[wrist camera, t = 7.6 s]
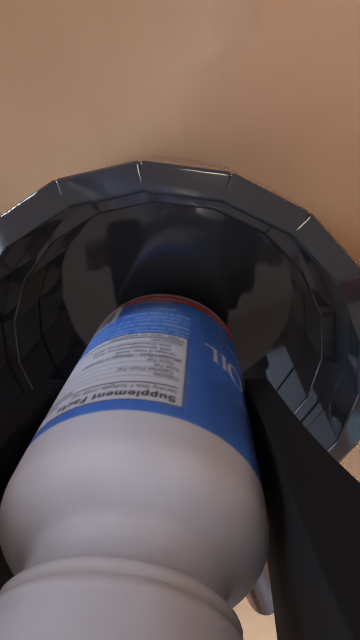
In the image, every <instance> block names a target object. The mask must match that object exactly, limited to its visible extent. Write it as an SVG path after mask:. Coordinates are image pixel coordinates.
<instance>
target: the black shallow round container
mask: <svg viewBox="0 0 360 640" xmlns="http://www.w3.org/2000/svg"><path fill="white" fill-rule="evenodd" d="M152 294H170V295H177V296H182V297H186V298H189V299H191V300H194V301H196V302H198V303H200V304H202V305H204V306H205V307H207V308H208V309H210V310H211V311H213V312H214V313H215V314H216V315H217V316H218V317H219V318H220V319H221V320H222V321H223V323H224V324H225V325H226V326H227V328H228V330H229V331H230V333H231V335H232V338H233V340H234V343H235V346H236V349H237V354H238V359H239V364H240V370H241V375H242V380H243V386H244V391H245V379H265V378H266V379H268V380H269V381H270V383H271V384H272V385H273V387H274V388H275V390H276V391H277V392H278V394H279V395H280V396H281V398H282V399H283V400H284V402H285V403H286V404H287V405H288V407H289V408H290V409H291V411H292V412H293V413H294V414H295V415H296V417H297V418H298V419H299V420H300V421H301V423H302V424H303V425H304V426H305V427H306V428H307V430H308V431H309V432H310V433H311V434H312V435H313V436H314V437H315V439H316V440H317V441H318V442H319V443H320V444H321V445H322V446H323V447H324V448H325V449H326V450H327V451H328V452H329V453H330V454H331V456H332V457H333V458H334V459H335V460H336V461H337V462H338V463H339V462H340V461H341V460H342V459H343V458H344V457H345V456H346V455H347V454H348V453H349V452H350V451H351V450H352V449H353V448H354V447H355V446H356V445H357V444H358V442H359V440H360V267H359V265H358V264H357V263H356V262H355V261H354V260H353V259H352V258H351V257H350V255H349V254H348V253H347V252H346V251H345V250H344V249H343V248H342V246H341V245H340V244H339V243H338V242H337V241H336V240H335V239H334V238H333V236H332V235H331V234H330V233H329V232H328V231H327V230H326V229H325V227H324V226H323V225H322V224H321V223H320V222H319V221H318V220H317V219H316V217H315V216H314V215H313V214H311V213H310V212H308V210H306V209H304V208H303V207H301V206H299V205H297V204H296V203H294V202H292V201H290V200H288V199H287V198H285V197H283V196H281V195H280V194H278V193H276V192H274V191H272V190H270V189H269V188H267V187H265V186H263V185H261V184H259V183H257V182H255V181H253V180H251V179H249V178H247V177H245V176H243V175H241V174H239V173H237V172H235V171H233V170H232V169H230V168H228V167H226V166H222V165H220V164H213V163H206V162H198V161H190V160H182V159H174V158H166V157H153V158H148V159H143V160H137V161H133V162H128V163H124V164H120V165H115V166H111V167H106V168H102V169H98V170H93V171H89V172H84V173H80V174H76V175H71V176H67V177H63V178H58V179H57V180H53V181H51V182H49V183H48V184H46V185H45V186H44V187H42V188H41V189H39V190H38V191H36V192H35V193H33V194H32V195H30V196H29V197H28V198H26V199H25V200H23V201H22V202H20V203H19V204H17V205H16V206H14V207H13V208H11V209H10V210H9V211H7V212H6V213H4V214H3V215H1V216H0V414H2V413H3V412H4V411H6V410H7V409H8V408H10V407H11V406H12V405H14V404H15V403H16V402H17V401H19V400H20V399H21V398H23V397H24V396H25V395H27V394H28V393H29V392H31V391H32V390H33V389H34V388H36V387H37V386H39V385H40V384H41V383H43V382H44V381H46V380H47V379H68V378H69V376H70V374H71V373H72V371H73V370H74V368H75V366H76V365H77V363H78V361H79V360H80V358H81V356H82V355H83V353H84V351H85V350H86V348H87V346H88V344H89V343H90V341H91V339H92V338H93V336H94V334H95V333H96V331H97V330H98V328H99V327H100V325H101V324H102V322H103V321H104V320H105V319H106V318H107V317H108V316H109V315H110V314H111V313H112V312H113V311H114V310H115V309H116V308H118V307H119V306H121V305H122V304H124V303H126V302H128V301H130V300H132V299H135V298H138V297H141V296H146V295H152Z"/></svg>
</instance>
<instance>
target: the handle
mask: <svg viewBox="0 0 360 640" xmlns="http://www.w3.org/2000/svg"><path fill="white" fill-rule="evenodd" d="M246 597H247V599H248V601H249V603H250V605H251V607H252V608H253V609H254V610H255V611H256V612H257V613H259V614H261V615H271V614H273V613H274V608H273V601H272V593H271V586H270V578H269V571H268V563H267V560H266V564H265V566H264V569H263V572H262V574H261V576H260V577H259V579H258V581H257V583H256V584H255V586H254V587H253V588H252V589H251V591H250V592H249V593H248V594H247V595H246Z"/></svg>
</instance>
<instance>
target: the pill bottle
mask: <svg viewBox="0 0 360 640" xmlns="http://www.w3.org/2000/svg"><path fill="white" fill-rule="evenodd" d="M0 546H1V549H2V553H3V555H4V558H5V560H6V562H7V564H8V566H9V568H10V569H11V571H12V573H13V575H14V577H13V578H11V579H10V580H9V581H8V582H6V583H5V584H4V585H3V587H2V588H1V590H0V640H243V630H242V627H241V624H240V621H239V619H238V617H237V615H236V613H235V611H234V610H233V609H232V608H234V607H235V606H236V605H237V604H238V603H239V602H241V601H242V600H243V599H244V597H245V596H246V595H247V594H248V593H249V592H250V591H251V589H252V588H253V587H254V586H255V584H256V583H257V581H258V579H259V577H260V576H261V574H262V572H263V569H264V566H265V564H266V560H267V556H268V550H269V522H268V516H267V509H266V502H265V496H264V490H263V485H262V479H261V474H260V468H259V463H258V459H257V453H256V448H255V443H254V436H253V432H252V427H251V421H250V417H249V412H248V407H247V402H246V397H245V391H244V386H243V380H242V375H241V370H240V364H239V359H238V354H237V349H236V346H235V343H234V340H233V338H232V335H231V333H230V331H229V330H228V328H227V326H226V325H225V324H224V323H223V321H222V320H221V319H220V318H219V317H218V316H217V315H216V314H215V313H214V312H213V311H211V310H210V309H208V308H207V307H205V306H204V305H202V304H200V303H198V302H196V301H194V300H191V299H189V298H186V297H182V296H177V295H170V294H152V295H146V296H141V297H138V298H135V299H132V300H130V301H128V302H126V303H124V304H122V305H121V306H119V307H118V308H116V309H115V310H114V311H113V312H112V313H111V314H110V315H109V316H108V317H107V318H106V319H105V320H104V321H103V322H102V324H101V325H100V327H99V328H98V330H97V331H96V333H95V334H94V336H93V338H92V339H91V341H90V343H89V344H88V346H87V348H86V350H85V351H84V353H83V355H82V356H81V358H80V360H79V361H78V363H77V365H76V366H75V368H74V370H73V371H72V373H71V374H70V376H69V378H68V379H67V381H66V383H65V385H64V386H63V388H62V390H61V391H60V393H59V395H58V396H57V398H56V400H55V402H54V404H53V405H52V407H51V409H50V410H49V412H48V414H47V416H46V417H45V419H44V421H43V422H42V424H41V426H40V427H39V429H38V431H37V432H36V434H35V436H34V438H33V439H32V441H31V443H30V444H29V446H28V448H27V450H26V452H25V453H24V455H23V457H22V459H21V461H20V462H19V464H18V466H17V468H16V470H15V471H14V473H13V475H12V477H11V479H10V480H9V483H8V485H7V487H6V489H5V492H4V495H3V498H2V501H1V506H0Z"/></svg>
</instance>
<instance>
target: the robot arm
mask: <svg viewBox="0 0 360 640" xmlns="http://www.w3.org/2000/svg"><path fill="white" fill-rule="evenodd" d="M66 381H67V379H47V380H46V381H44V382H43V383H41V384H40V385H39V386H37V387H36V388H34V389H33V390H32V391H31V392H29V393H28V394H27V395H25V396H24V397H23V398H21V399H20V400H19V401H17V402H16V403H15V404H14V405H12V406H11V407H10V408H8V409H7V410H6V411H4V412H3V413H2V414H0V506H1V501H2V498H3V495H4V492H5V489H6V487H7V485H8V483H9V480H10V479H11V477H12V475H13V473H14V471H15V470H16V468H17V466H18V464H19V462H20V461H21V459H22V457H23V455H24V453H25V452H26V450H27V448H28V446H29V444H30V443H31V441H32V439H33V438H34V436H35V434H36V432H37V431H38V429H39V427H40V426H41V424H42V422H43V421H44V419H45V417H46V416H47V414H48V412H49V410H50V409H51V407H52V405H53V404H54V402H55V400H56V398H57V396H58V395H59V393H60V391H61V390H62V388H63V386H64V385H65V383H66ZM245 397H246V402H247V407H248V412H249V417H250V421H251V427H252V432H253V436H254V443H255V448H256V453H257V459H258V463H259V468H260V474H261V479H262V485H263V490H264V496H265V502H266V509H267V516H268V522H269V550H268V556H267V563H268V571H269V578H270V586H271V593H272V601H273V608H274V616H275V624H276V632H277V640H360V482H358V481H357V480H356V479H355V478H354V477H353V476H352V475H351V474H350V473H349V472H348V471H347V470H346V469H345V468H344V467H342V466H341V465H340V464H339V463H338V462H337V461H336V460H335V459H334V458H333V457H332V456H331V454H330V453H329V452H328V451H327V450H326V449H325V448H324V447H323V446H322V445H321V444H320V443H319V442H318V441H317V440H316V439H315V437H314V436H313V435H312V434H311V433H310V432H309V431H308V430H307V428H306V427H305V426H304V425H303V424H302V423H301V421H300V420H299V419H298V418H297V417H296V415H295V414H294V413H293V412H292V411H291V409H290V408H289V407H288V405H287V404H286V403H285V402H284V400H283V399H282V398H281V396H280V395H279V394H278V392H277V391H276V390H275V388H274V387H273V385H272V384H271V383H270V381H269V380H268V379H266V378H265V379H245ZM13 577H14V575H13V573H12V571H11V569H10V568H9V566H8V564H7V562H6V560H5V558H4V555H3V553H2V549H1V546H0V590H1V588H2V587H3V585H4V584H5V583H6V582H8V581H9V580H10V579H11V578H13Z"/></svg>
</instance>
